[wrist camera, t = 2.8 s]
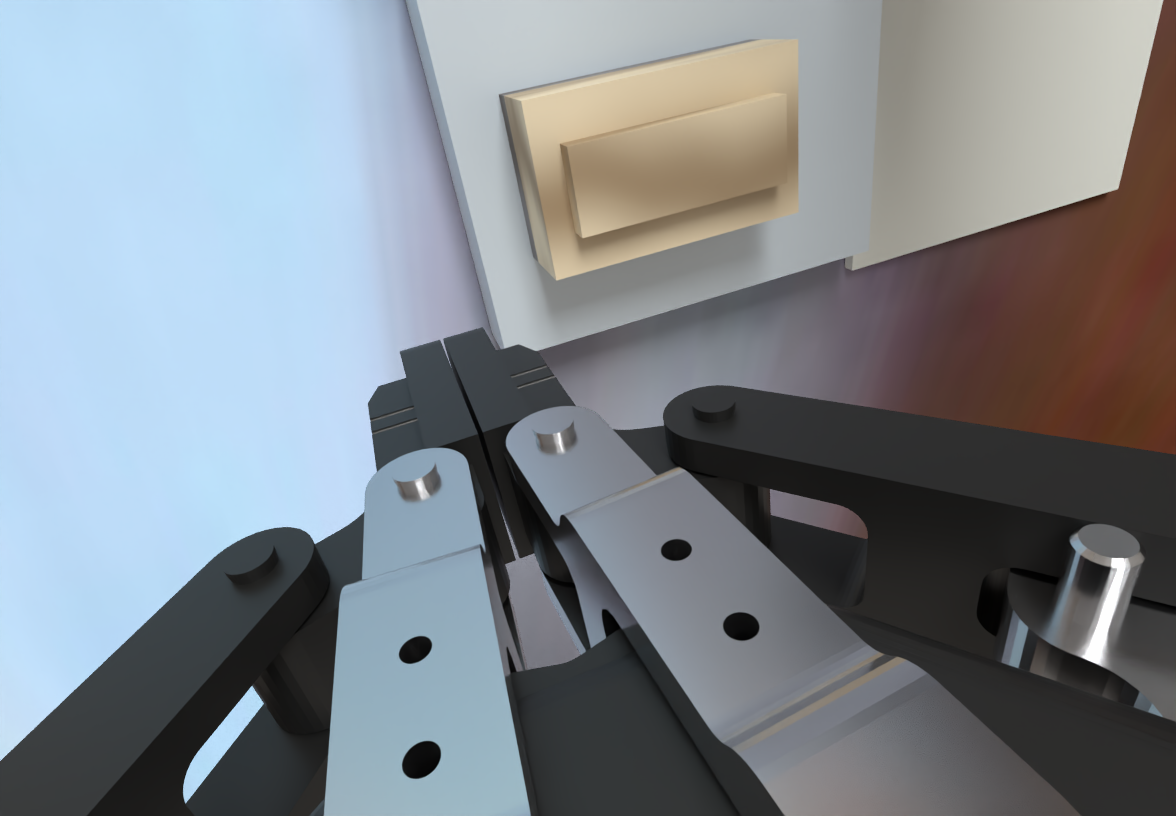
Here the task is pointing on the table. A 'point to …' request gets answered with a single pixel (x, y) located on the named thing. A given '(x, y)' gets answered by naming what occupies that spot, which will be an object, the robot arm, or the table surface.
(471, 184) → the large white box
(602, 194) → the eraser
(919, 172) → the mat
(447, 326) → the table surface
